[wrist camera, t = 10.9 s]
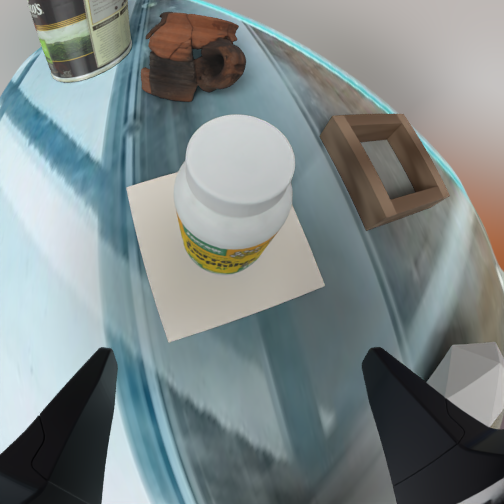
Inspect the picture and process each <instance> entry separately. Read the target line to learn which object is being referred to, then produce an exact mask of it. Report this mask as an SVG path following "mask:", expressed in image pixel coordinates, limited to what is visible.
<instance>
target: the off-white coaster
mask: <svg viewBox="0 0 504 504" xmlns="http://www.w3.org/2000/svg"><path fill="white" fill-rule="evenodd" d="M177 173H178V172H177ZM177 173H173V174H169V175H166V176H162V177H159V178H155V179H152V180H149V181H145V182H142V183H139V184H136V185H132V186H129V187H126V188H127V193H128V198H129V203H130V208H131V212H132V217H133V221H134V226H135V230H136V234H137V238H138V242H139V246H140V250H141V254H142V258H143V262H144V265H145V269H146V272H147V276H148V280H149V283H150V286H151V290H152V293H153V296H154V300H155V303H156V306H157V309H158V312H159V315H160V318H161V321H162V324H163V327H164V330H165V333H166V336H167V339H168V342H172V341H175V340H178V339H181V338H184V337H187V336H191V335H194V334H197V333H200V332H203V331H206V330H209V329H212V328H215V327H218V326H220V325H223V324H226V323H229V322H232V321H235V320H238V319H240V318H243V317H246V316H249V315H251V314H254V313H257V312H260V311H262V310H265V309H268V308H270V307H273V306H276V305H278V304H281V303H284V302H286V301H289V300H291V299H294V298H296V297H299V296H302V295H304V294H307V293H309V292H312V291H314V290H317V289H319V288H321V287H324V286H325V284H324V282H323V279H322V276H321V274H320V271H319V269H318V266H317V264H316V261H315V259H314V256H313V254H312V251H311V249H310V246H309V244H308V241H307V239H306V236H305V234H304V232H303V229H302V227H301V224H300V222H299V220H298V217H297V215H296V213H295V210H294V208H293V206H292V205H291V209H290V212H289V215H288V217H287V219H286V221H285V223H284V224H283V226H282V227H281V229H280V230H279V231H278V233H277V234H276V235H275V237H274V238H273V239H272V241H271V242H270V243H269V244H268V246H267V247H266V248H265V250H264V251H263V252H262V254H261V255H260V257H259V258H258V259H257V260H256V261H255V262H254V263H253V264H252V265H251V266H249V267H248V268H246V269H245V270H243V271H241V272H238V273H236V274H232V275H216V274H212V273H209V272H206V271H204V270H202V269H201V268H199V267H198V266H197V265H196V264H195V263H194V262H193V261H192V260H191V258H190V257H189V255H188V254H187V252H186V250H185V247H184V244H183V240H182V236H181V231H180V227H179V222H178V218H177V213H176V208H175V203H174V184H175V179H176V176H177Z"/></svg>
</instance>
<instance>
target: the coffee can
mask: <svg viewBox="0 0 504 504" xmlns="http://www.w3.org/2000/svg"><path fill="white" fill-rule="evenodd" d="M27 1H28V4H29V8H30V12H31V15H32V18H33V21H34V25H35V28H36V31H37V34H38V36H39V40H40V43H41V46H42V49H43V51H44V54H45V57H46V60H47V62H48V65H49V68H50V70H51V75H52V77H53V78H54V79H55V80H57V81H60V82H76V81H82V80H85V79H88V78H91V77H94V76H96V75H99V74H101V73H103V72H105V71H107V70H108V69H110V68H112V67H113V66H115V65H116V64H118V63H119V62H120V61H121V60H122V59H124V58H125V57H126V55H127V54H128V53H129V51H130V50H131V47H132V40H131V35H130V25H129V15H128V0H27Z"/></svg>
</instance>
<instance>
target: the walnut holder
mask: <svg viewBox="0 0 504 504" xmlns="http://www.w3.org/2000/svg"><path fill="white" fill-rule="evenodd" d="M320 138H321V140H322V142H323V144H324V145H325V147H326V149H327V151H328V153H329V155H330V157H331V158H332V160H333V162H334V164H335V166H336V168H337V170H338V172H339V174H340V176H341V178H342V180H343V182H344V184H345V186H346V188H347V190H348V192H349V194H350V196H351V198H352V200H353V203H354V205H355V207H356V209H357V211H358V213H359V216H360V218H361V220H362V222H363V225H364V227H365V229H366V231H367V230H370V229H372V228H375V227H378V226H381V225H384V224H386V223H389V222H392V221H395V220H398V219H400V218H403V217H406V216H409V215H411V214H414V213H417V212H420V211H422V210H425V209H428V208H430V207H432V206H434V205H436V204H437V203H439V202H440V201H442V200H444V199H445V198H447V197H449V196H450V195H449V193H448V191H447V189H446V187H445V185H444V183H443V181H442V179H441V177H440V175H439V173H438V171H437V169H436V167H435V165H434V163H433V162H432V160H431V158H430V156H429V154H428V153H427V151H426V149H425V147H424V146H423V144H422V142H421V141H420V139H419V137H418V136H417V134H416V133H415V131H414V129H413V128H412V126H411V125H410V123H409V122H408V120H407V119H406V117H405V116H404V114H358V115H339V116H332V117H331V119H330V120H329V122H328V124H327V125H326V127H325V128H324V130H323V132H322V133H321V135H320ZM376 140H388V142H389V143H390V145H391V147H392V148H393V150H394V152H395V154H396V155H397V157H398V159H399V161H400V163H401V164H402V166H403V168H404V170H405V172H406V174H407V176H408V177H409V179H410V181H411V183H412V185H413V187H414V189H415V191H416V193H412V194H409V195H405V196H402V197H398V198H395V199H391V200H390V198H389V196H388V194H387V192H386V190H385V188H384V186H383V184H382V182H381V180H380V178H379V176H378V174H377V172H376V170H375V168H374V166H373V165H372V163H371V161H370V159H369V157H368V155H367V154H366V152H365V150H364V148H363V147H362V145H361V143H360V142H367V141H376Z"/></svg>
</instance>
